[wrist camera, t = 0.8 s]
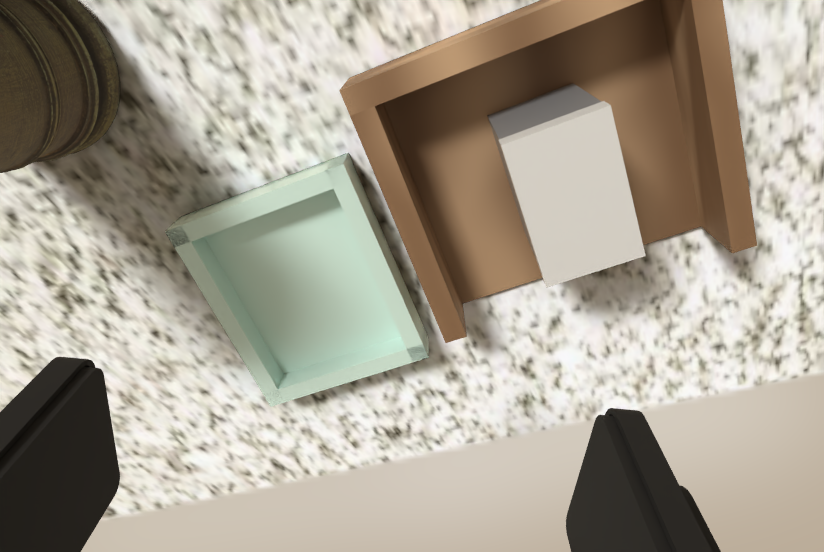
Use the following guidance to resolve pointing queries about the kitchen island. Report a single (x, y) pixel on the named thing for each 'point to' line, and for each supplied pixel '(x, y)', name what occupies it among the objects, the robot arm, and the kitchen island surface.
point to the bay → (533, 76)
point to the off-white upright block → (568, 182)
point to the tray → (303, 282)
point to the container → (52, 81)
